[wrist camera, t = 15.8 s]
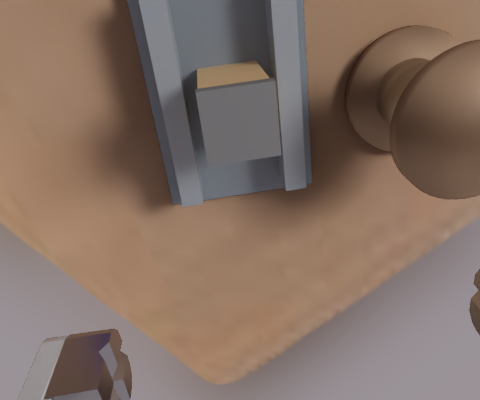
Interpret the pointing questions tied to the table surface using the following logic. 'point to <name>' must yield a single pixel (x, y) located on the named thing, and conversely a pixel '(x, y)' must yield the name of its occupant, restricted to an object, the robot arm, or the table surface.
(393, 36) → the door knob
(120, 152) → the table surface
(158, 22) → the grey channel bracket
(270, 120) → the grey and tan block
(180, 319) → the table surface
